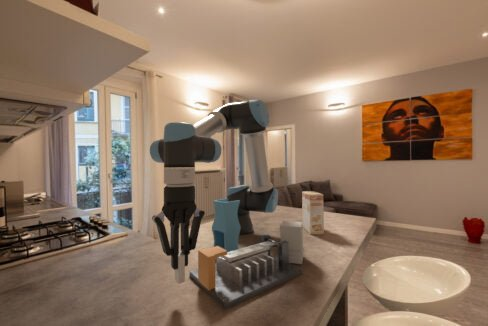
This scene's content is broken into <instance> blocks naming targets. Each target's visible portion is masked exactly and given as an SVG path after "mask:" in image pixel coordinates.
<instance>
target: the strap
mask: <svg viewBox="0 0 488 326" xmlns="http://www.w3.org/2000/svg"><path fill="white" fill-rule="evenodd" d="M278 242H279V241H276V240H273V239H272V238H270V239H267V240H266V242H262V243H261V242H260V243H256V244H251V245H248V246H246V247H242V248H239V249H237V250H234V251H230V252H227V255H224V256H221V257H222V258H224V259H225V260H227V261H228V262H231V261H234V260H237V259H240V258H244V257H247V256H250V255H253V254H256V253H259V252H263V251H266V250H269V249H270V250H272V249H275V248H278Z"/></svg>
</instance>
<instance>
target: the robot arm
mask: <svg viewBox="0 0 488 326" xmlns="http://www.w3.org/2000/svg"><path fill="white" fill-rule="evenodd" d="M266 105H267V104H265V102H264V101H263V100H262V99H249V100H243V101H237V102H230V103H227V104H224V105H222V106H220V107H218V108H216V109H214V110H212V111H210V112H209V113H208V114H207V116H206V117H204V118H202V119H201V120H199V121H197V122H195V123H194V124H193V123H191V122H190V123H189V122H180V121H178V122H177V121H174V122H168V123H167V124H165V126H164V128H163V138H161V139H157V140H154V141H152V143H151V144H150V145H149V146H150V147H149V154H150V157H151V159H152V160H153V161H154V162H156V163H158V164H159V163H161V164H163V184H164V185H166V186H164V187H163V205H162V208H161V211H160V212H159V213H158V214H155V215H153V216H152V217H151V220H152V221H153V222H154V224H155V225H156V228H157V231H158V236H159V240H160V244H161V248H162V252H163V253H164V254H165V255H166V256H168V257H170V261H171V262H170V265H171V269H173V271H174V280H175V282H177V283H178V284H182V283H186V280H185V279H186V267H188V265H189V256H190V254H191V251H192V250H195V249H196V248H197V247H196V246H197V242H198V239H199V237H198V236H199V233H200V228H201V224H202V219H203V218H204V216H205V214H206V212H205V211H204V210H202V209H199V208H198V207H197V204H196V187H195V185H193V184H196V163H208V164H210V163H214V162H217V161H218V160H219V159H220V157H221V155H222V146H221V143H220V142H219V141H218V140H217V139H215V138H212V137H213V136H214V135H215V134H219V133H223V132H224V131H228V130H239V134H240V135H242V136H243V137H244V144H245V150H246V151H245V152H246V154H247V155H246V156H247V163H248V167H249V173H250V180H251V181H250V182H251V184H250V185H249V184H244V185H238V186H237V185H236V186H230V187H228V188H227V191H226V192H227V193H226V199H228V202H231V201H237V200H240V203H239V206H238V212H237V215H238V221H239V224H240V226H241V229H240V233H239V235H246V234H249V233H252V232H253V231H254V225H253V223H252V222H253V221H252V219H251V216H250V212H258V213H264V214H266V213H267V214H268V213H271V214H272V213H274V212H275V211H276V209H277V206H278V203H279V202H278V201H279V190H278V189H277V188H275V187H274V184H273V183H272V182H271V181H270V177H269V176H270V175H269V170H268V161H267V154H266V153H267V152H266V147H265V146H266V145H265V139H264V133H265V132H266V131H267V127H268V126H269V125H270V124H269V123H270V120H269V119H270V115H269V110H268V107H267V106H266ZM192 217H193V218H192ZM165 218H166V219H167V221H168V222H169V226H170V241H169V236H168V233H167V229H166V225H165V224H164V222H165ZM191 218H192V222H191V223H190V221H191ZM190 224H191V225H190ZM179 245H180V246H179Z"/></svg>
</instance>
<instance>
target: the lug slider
mask: <svg viewBox="0 0 488 326" xmlns="http://www.w3.org/2000/svg"><path fill="white" fill-rule="evenodd" d="M197 254H198V255H197V260H198V261H197V263H198V264H197V269H198V281H199V282H200V283H201V284H202V285H203V286H204V287H206V288H207V289H208V290H211V289H213V288H215V263H216V259H217V257H222V256H224V255H227V251H226V250H225V249H223V248H221V247H219V246H215V247H213V246H212V247H209V248H201V249H198V250H197Z"/></svg>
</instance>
